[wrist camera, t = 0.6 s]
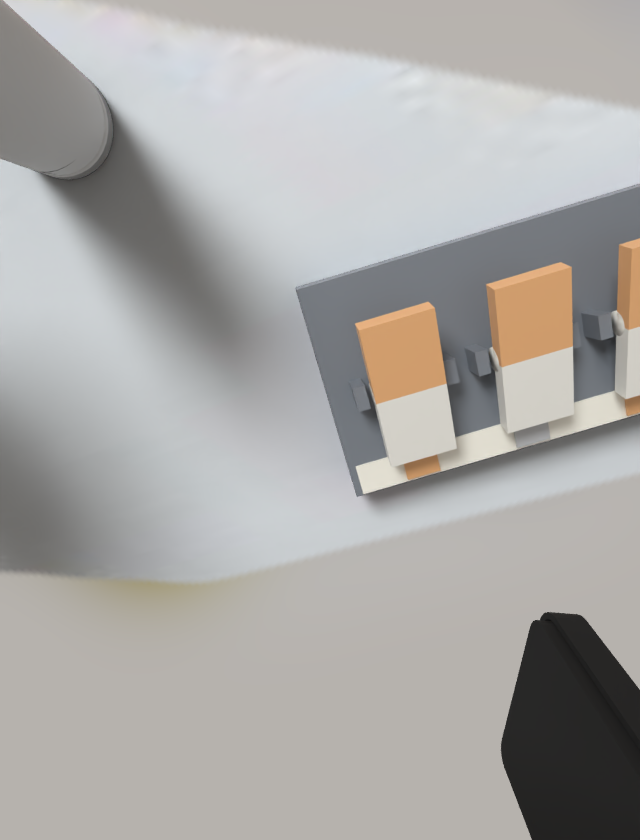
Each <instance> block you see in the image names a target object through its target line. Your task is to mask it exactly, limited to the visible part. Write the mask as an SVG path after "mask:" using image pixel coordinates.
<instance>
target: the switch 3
mask: <svg viewBox="0 0 640 840" xmlns="http://www.w3.org/2000/svg"><path fill="white" fill-rule="evenodd" d="M611 321H612V329H613V332H614V334H616V364H615V392H617V393H618V394H619V395H621V396H622V397H623V398H625V399H628V398H632V397H635V396H639V395H640V238H639V239H636V240H633V241H629V242H626V243H623V244H619V259H618V294H617V310H616V311H613V312H611Z"/></svg>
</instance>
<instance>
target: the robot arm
mask: <svg viewBox="0 0 640 840" xmlns="http://www.w3.org/2000/svg"><path fill="white" fill-rule="evenodd" d="M501 754H502V760H503V764H504V768H505V770H506V773H507V776H508V778H509V780H510V783H511V786H512V788H513V791H514V794H515V796H516V799H517V801H518V804H519V807H520V809H521V812H522V815H523V817H524V820H525V822H526V825H527V828H528V830H529V833H530V835H531V838H532V840H640V690H639V688H638V687H637V686H636V684H635V683H634V682H633V681H632V679H631V678H630V677H629V675H628V674H627V673H626V671H625V670H624V669H623V668H622V666H621V665H620V664H619V662H618V661H617V660H616V658H615V657H614V656H613V655H612V653H611V652H610V651H609V649H608V648H607V647H606V646H605V644H604V643H603V642H602V640H601V639H600V638H599V636H598V635H597V634H596V632H595V631H594V630H593V629H592V627H591V626H590V625H589V623H588V622H587V621H586V620H585V619H584V618H583V617H582V616H581V615H577V614H565V613H552V612H547V613H544V614H543V615H542V617H541V619H540V620H535V621H533V622H532V624H531V626H530V630H529V634H528V638H527V642H526V646H525V650H524V654H523V658H522V662H521V666H520V670H519V674H518V678H517V682H516V686H515V690H514V694H513V698H512V701H511V706H510V709H509V714H508V717H507V721H506V725H505V729H504V734H503V738H502V743H501Z"/></svg>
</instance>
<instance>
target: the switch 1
mask: <svg viewBox="0 0 640 840" xmlns="http://www.w3.org/2000/svg"><path fill="white" fill-rule="evenodd" d="M355 326H356V330H357V335H358V339H359V343H360V347H361V351H362V355H363V359H364V363H365V368H366V372H367V376H368V380H369V389H370V393H371V396H372V400H373V403H374V405H375V409H376V413H377V417H378V421H379V425H380V429H381V433H382V438H383V442H384V446H385V450H386V454H387V458H388V460H389V463H390V465H391V467H395V466H399V465H402V464H406V463H409V462H412V461H416V460H419V459H423V458H426V457H429V456H433V455H436V454H440V453H443V452H447V451H450V450H453V449H457V446H456V439H455V433H454V427H453V420H452V414H451V408H450V401H449V395H448V389H447V382H446V376H445V369H444V363H443V357H442V350H441V344H440V338H439V331H438V325H437V319H436V312H435V308H434V307H433V306H432V305H431V304H430V303H429V302H425V303H422V304H419V305H415V306H412V307H409V308H405V309H402V310H399V311H395V312H392V313H389V314H385V315H382V316H379V317H375V318H372V319H369V320H365V321H362V322H358V323H355Z"/></svg>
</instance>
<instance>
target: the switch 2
mask: <svg viewBox="0 0 640 840" xmlns="http://www.w3.org/2000/svg"><path fill="white" fill-rule="evenodd" d="M486 288H487V298H488V308H489V318H490V327H491V337H492V347H491V348H489V359H490V363H491V365H492V367H493V369H494V370H495V376H496V386H497V396H498V405H499V415H500V425H501V426H502V427H503V428H504V429H505V431H506V432H507V433H512V432H515V431H519V430H522V429H525V428H529V427H532V426H536V425H539V424H543V423H546V422H549V421H553V420H556V419H560V418H563V417H567V416H570V415H573V414H574V380H573V322H572V267H570V266H568V265H566V264H564V263H562V262H559V263H556V264H552V265H549V266H546V267H542V268H539V269H536V270H532V271H529V272H526V273H522V274H519V275H516V276H512V277H509V278H506V279H502V280H499V281H496V282H492V283H489V284H486Z"/></svg>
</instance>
